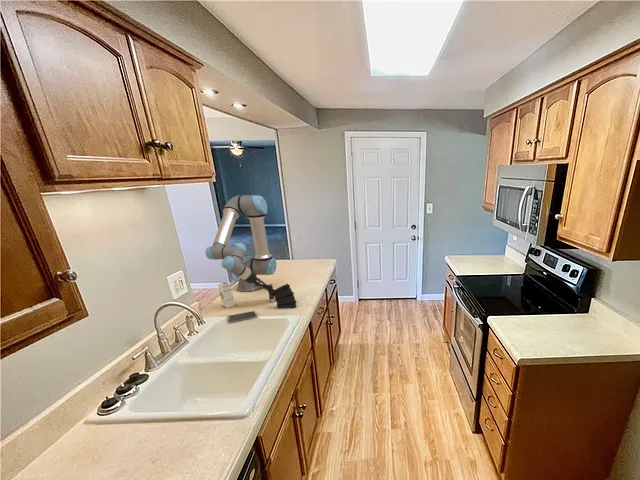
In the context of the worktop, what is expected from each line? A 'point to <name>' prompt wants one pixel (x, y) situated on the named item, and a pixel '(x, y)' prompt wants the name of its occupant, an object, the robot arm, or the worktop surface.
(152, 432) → the worktop surface
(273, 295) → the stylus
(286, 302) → the black ridged block
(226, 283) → the syrup box
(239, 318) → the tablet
